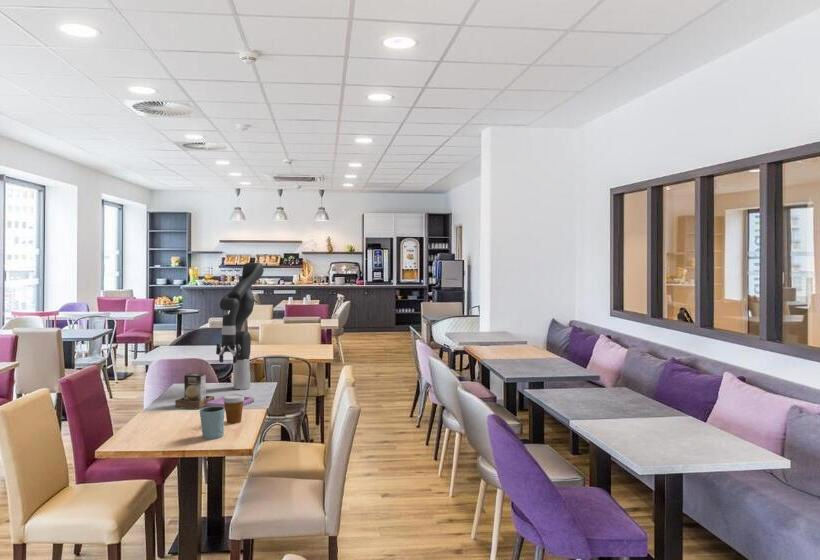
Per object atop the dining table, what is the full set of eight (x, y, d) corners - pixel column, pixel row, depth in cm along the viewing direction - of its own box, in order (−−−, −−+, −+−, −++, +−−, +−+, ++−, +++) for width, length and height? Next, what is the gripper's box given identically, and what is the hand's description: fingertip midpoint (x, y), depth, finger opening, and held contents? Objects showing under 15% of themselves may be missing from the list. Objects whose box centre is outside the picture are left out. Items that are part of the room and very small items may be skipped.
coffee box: (183, 406, 305) (183, 375, 304) (189, 403, 311) (189, 372, 310) (200, 406, 304) (200, 375, 303) (206, 403, 310) (206, 373, 309)
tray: (225, 399, 319) (225, 395, 319) (253, 402, 314) (253, 397, 314) (206, 407, 302) (206, 402, 302) (235, 410, 297) (235, 405, 297)
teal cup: (229, 436, 255) (229, 408, 254) (207, 441, 247) (207, 413, 247) (217, 431, 261) (216, 404, 261) (195, 436, 254) (195, 409, 253)
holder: (191, 401, 316) (191, 394, 315) (214, 403, 311) (214, 396, 311) (175, 407, 303) (175, 400, 303) (198, 409, 299) (198, 402, 299)
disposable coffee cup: (218, 423, 274) (218, 397, 274) (233, 418, 283) (233, 393, 282) (234, 425, 270) (233, 399, 269) (249, 420, 278) (248, 395, 278)
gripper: (243, 333, 334) (242, 362, 334) (221, 332, 339) (221, 361, 338) (235, 334, 327) (235, 364, 327) (213, 333, 331) (213, 362, 331)
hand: (228, 362), depth 333 cm, fingers open, 8 cm apart
